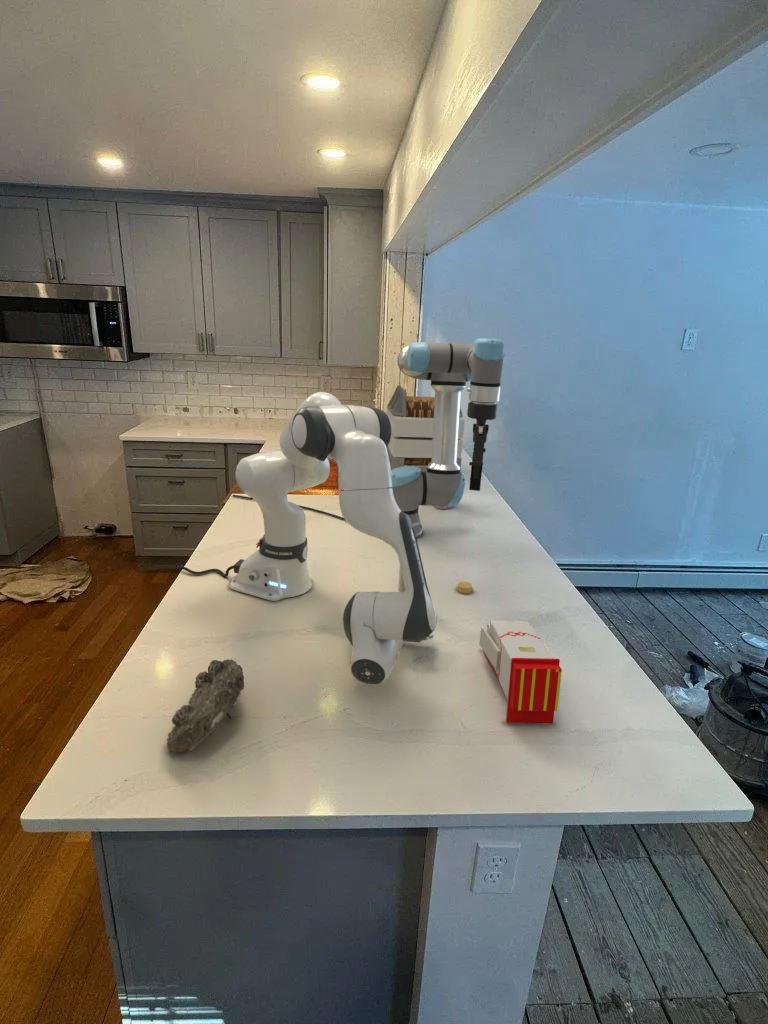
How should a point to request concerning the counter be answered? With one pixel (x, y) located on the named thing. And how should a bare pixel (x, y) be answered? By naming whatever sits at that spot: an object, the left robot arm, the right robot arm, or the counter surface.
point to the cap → (464, 587)
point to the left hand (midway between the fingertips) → (399, 603)
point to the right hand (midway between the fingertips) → (475, 482)
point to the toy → (523, 670)
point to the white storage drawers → (414, 430)
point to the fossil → (206, 705)
